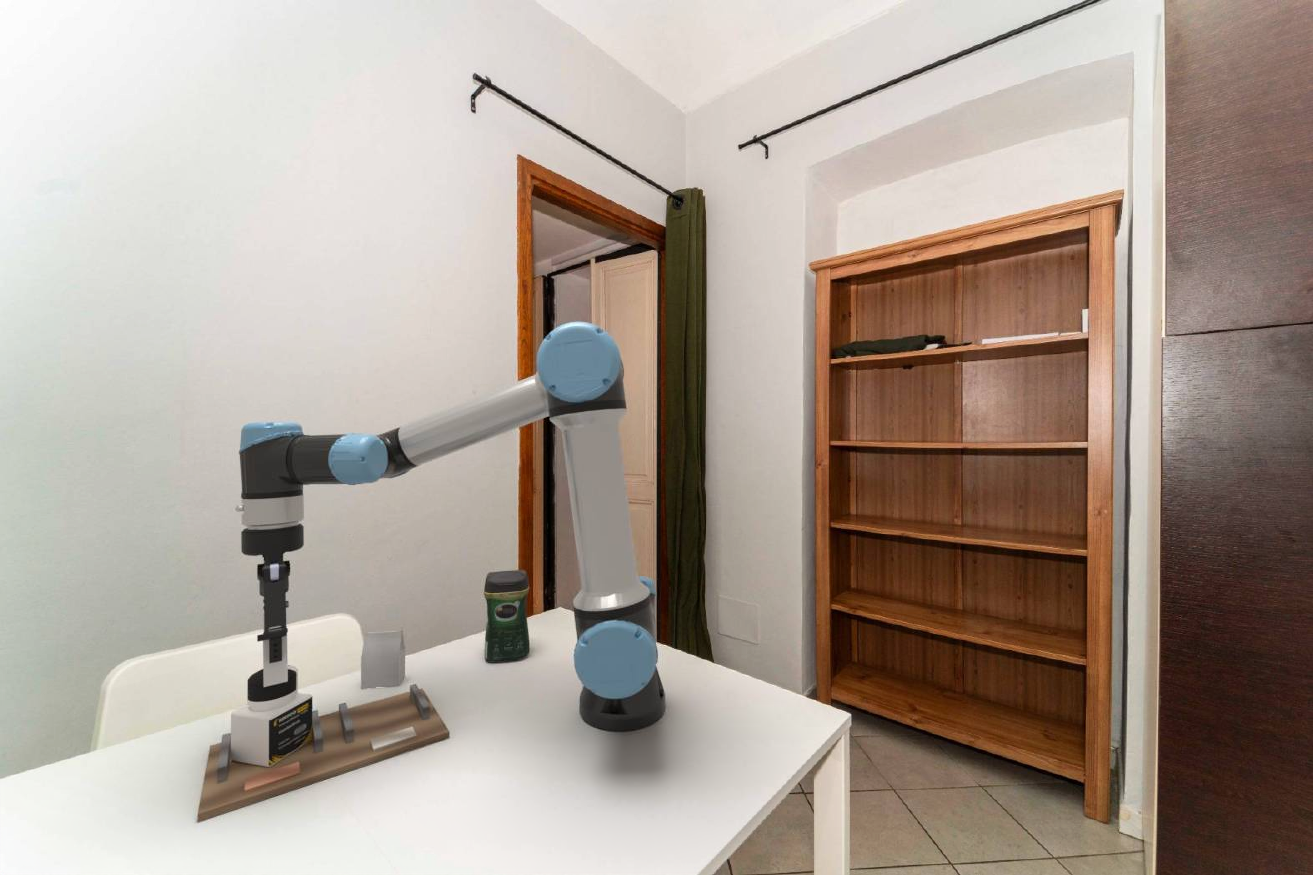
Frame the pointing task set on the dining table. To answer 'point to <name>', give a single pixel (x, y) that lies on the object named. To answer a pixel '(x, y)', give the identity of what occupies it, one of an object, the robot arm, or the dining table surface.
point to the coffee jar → (506, 616)
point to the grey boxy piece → (383, 659)
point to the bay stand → (324, 751)
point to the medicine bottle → (271, 721)
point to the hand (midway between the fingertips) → (275, 667)
